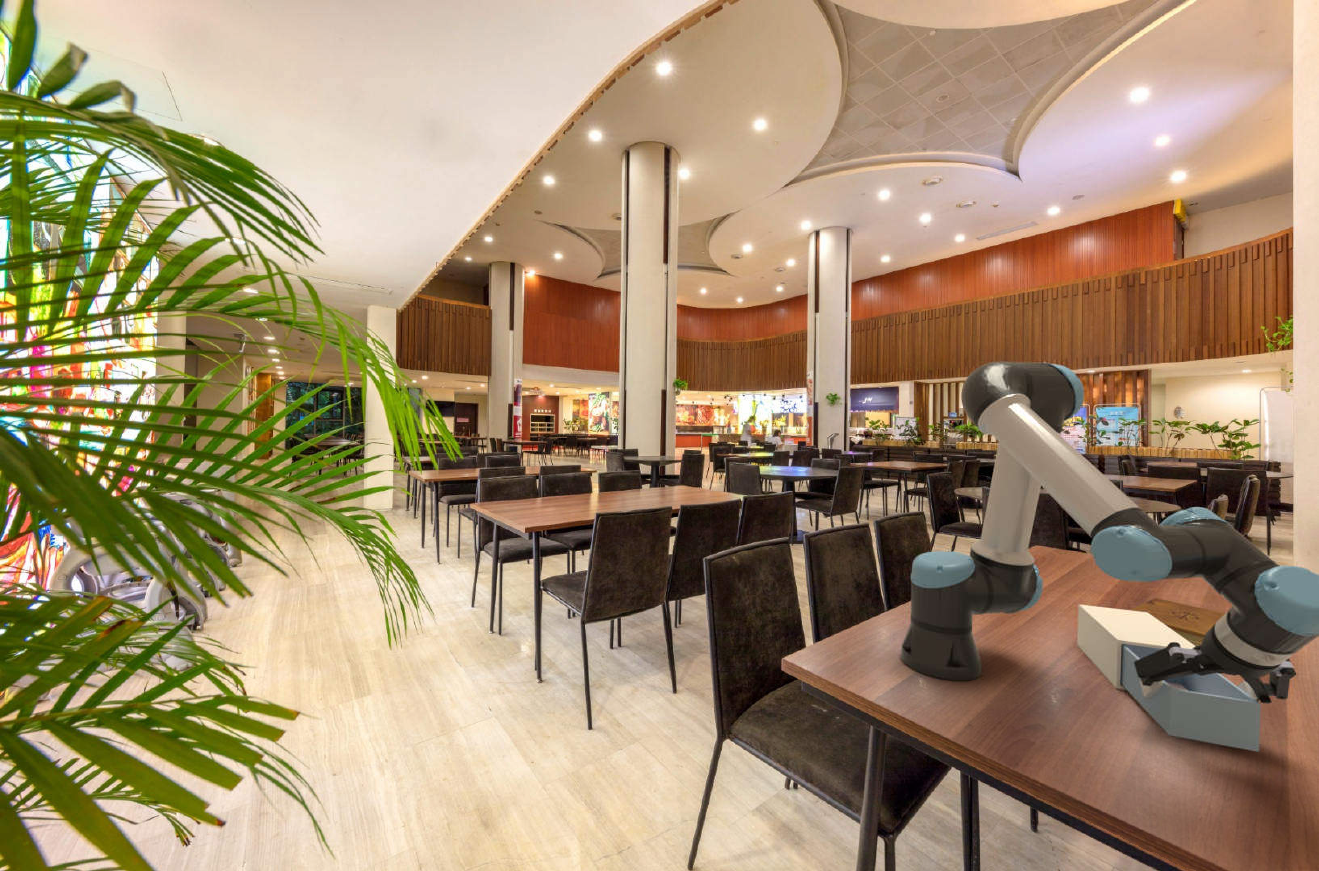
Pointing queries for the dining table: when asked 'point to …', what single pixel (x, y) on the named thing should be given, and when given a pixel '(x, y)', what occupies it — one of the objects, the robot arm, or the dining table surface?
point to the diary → (1182, 618)
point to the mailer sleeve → (1120, 636)
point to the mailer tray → (1196, 705)
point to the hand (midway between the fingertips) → (1187, 696)
